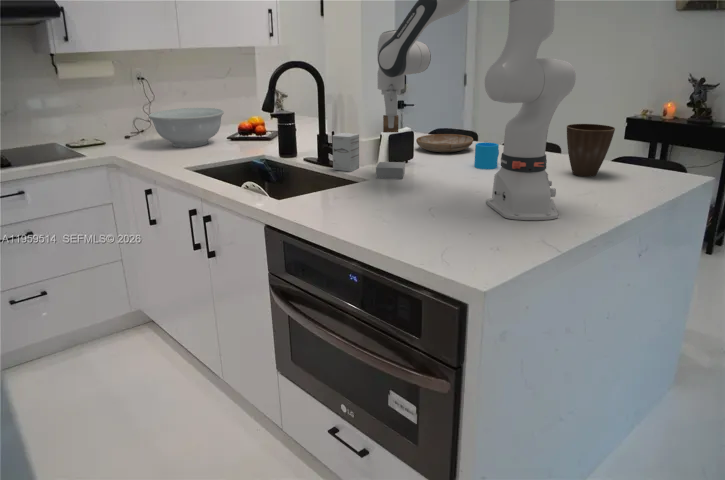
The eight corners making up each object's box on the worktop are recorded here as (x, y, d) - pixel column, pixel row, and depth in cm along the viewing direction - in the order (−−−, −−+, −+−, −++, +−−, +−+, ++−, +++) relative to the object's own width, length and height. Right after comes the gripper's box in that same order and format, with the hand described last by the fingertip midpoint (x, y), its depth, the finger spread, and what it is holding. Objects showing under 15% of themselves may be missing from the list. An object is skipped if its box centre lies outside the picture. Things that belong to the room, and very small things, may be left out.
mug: (489, 170, 194) (490, 147, 191) (469, 167, 200) (471, 144, 197) (506, 164, 202) (508, 142, 199) (487, 161, 208) (489, 140, 205)
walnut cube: (398, 132, 181) (398, 117, 180) (383, 132, 182) (383, 117, 180) (398, 130, 186) (398, 115, 184) (383, 130, 186) (383, 115, 185)
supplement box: (332, 170, 198) (331, 135, 193) (342, 166, 204) (341, 132, 200) (350, 172, 195) (349, 136, 190) (360, 168, 201) (359, 133, 196)
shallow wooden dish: (422, 144, 244) (422, 132, 243) (475, 146, 237) (476, 134, 236) (410, 154, 224) (410, 142, 222) (468, 157, 217) (469, 144, 215)
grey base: (402, 179, 184) (402, 168, 183) (376, 179, 186) (376, 167, 184) (404, 173, 193) (405, 162, 191) (379, 172, 194) (379, 161, 193)
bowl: (172, 154, 230) (167, 119, 224) (141, 144, 252) (136, 112, 247) (239, 144, 250) (236, 111, 245) (205, 136, 272) (202, 106, 267)
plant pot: (587, 167, 195) (593, 122, 190) (618, 177, 182) (625, 128, 177) (552, 171, 191) (557, 125, 185) (581, 181, 178) (587, 131, 172)
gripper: (401, 86, 169) (401, 131, 173) (399, 81, 188) (399, 121, 193) (381, 86, 169) (381, 131, 174) (381, 81, 188) (381, 122, 193)
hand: (390, 126), depth 183 cm, fingers closed on walnut cube, 5 cm apart
